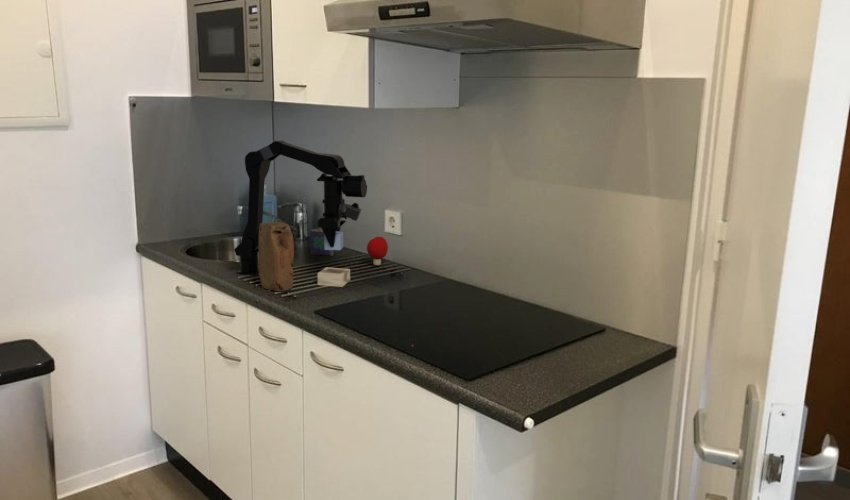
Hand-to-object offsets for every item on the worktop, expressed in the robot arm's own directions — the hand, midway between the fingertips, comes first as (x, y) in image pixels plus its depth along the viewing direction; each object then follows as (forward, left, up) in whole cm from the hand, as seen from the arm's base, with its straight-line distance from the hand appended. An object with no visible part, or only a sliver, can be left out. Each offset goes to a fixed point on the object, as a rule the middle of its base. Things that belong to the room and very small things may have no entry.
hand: (333, 245), depth 214 cm
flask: (-35, -12, -12) cm, 39 cm away
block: (+13, -15, -12) cm, 22 cm away
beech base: (+3, +1, -12) cm, 12 cm away
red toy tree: (-21, +11, -12) cm, 26 cm away
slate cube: (0, 0, -1) cm, 1 cm away
